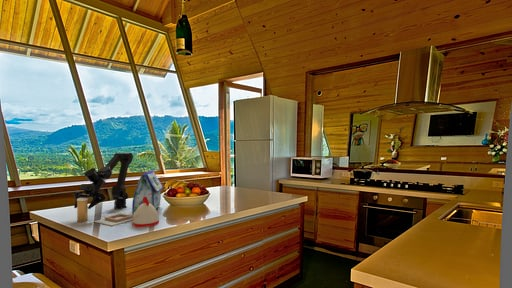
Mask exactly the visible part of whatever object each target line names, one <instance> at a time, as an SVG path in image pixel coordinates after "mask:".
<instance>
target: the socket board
mask: <svg viewBox="0 0 512 288" xmlns="http://www.w3.org/2000/svg"><path fill="white" fill-rule="evenodd" d="M131 221H132V222H133V214H130V213H117V214H114V215H110V216H109V215H108V216H105V217H104V218H100V219H98V220H94V223H96V224H100V225H106V226H110V227H115V226H119V225H122V224H124V223H129V222H131Z"/></svg>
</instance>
